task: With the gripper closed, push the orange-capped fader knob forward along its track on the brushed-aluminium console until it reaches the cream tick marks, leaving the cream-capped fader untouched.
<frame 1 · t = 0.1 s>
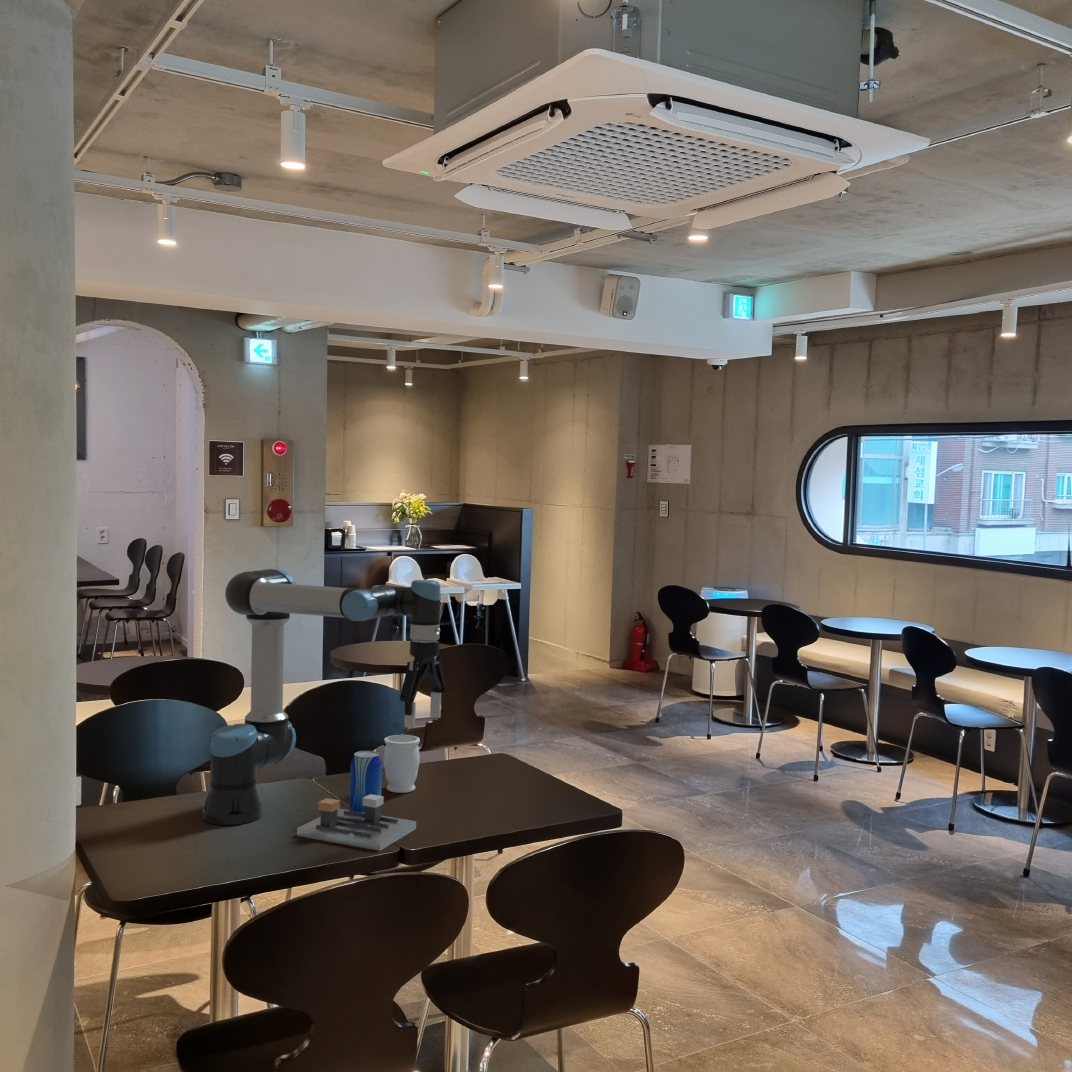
hand: (422, 722, 259), 28 cm above the table, fingers open, 13 cm apart
console: (357, 832, 257), on the table
beer can: (365, 812, 273), on the table
jar: (401, 789, 295), on the table
fader b: (372, 808, 259), point 5 cm above the table, slide at 8.0 cm
fader a: (329, 812, 255), point 5 cm above the table, slide at 0.0 cm
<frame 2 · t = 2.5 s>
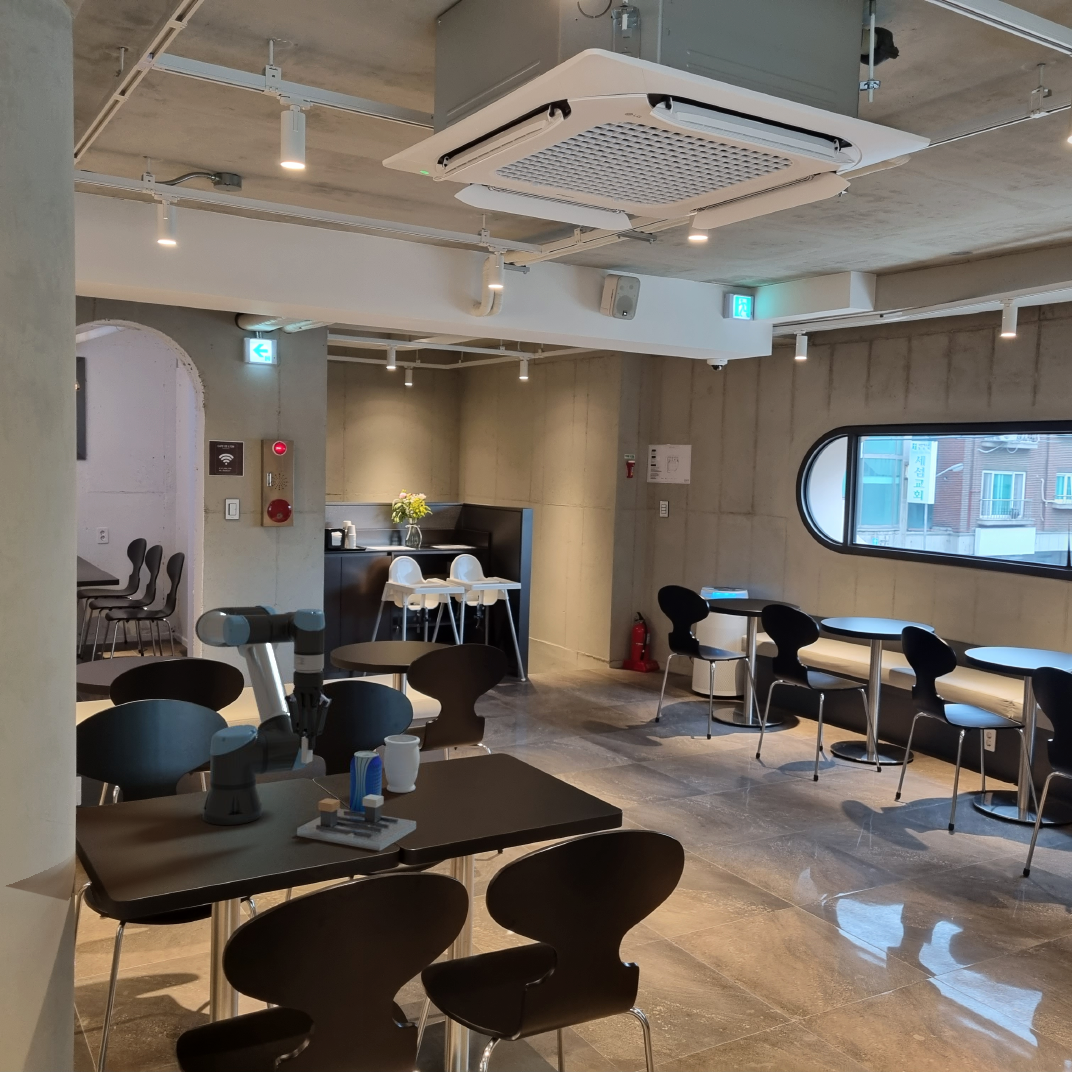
hand: (306, 761, 257), 18 cm above the table, fingers closed
nothing on the table moved.
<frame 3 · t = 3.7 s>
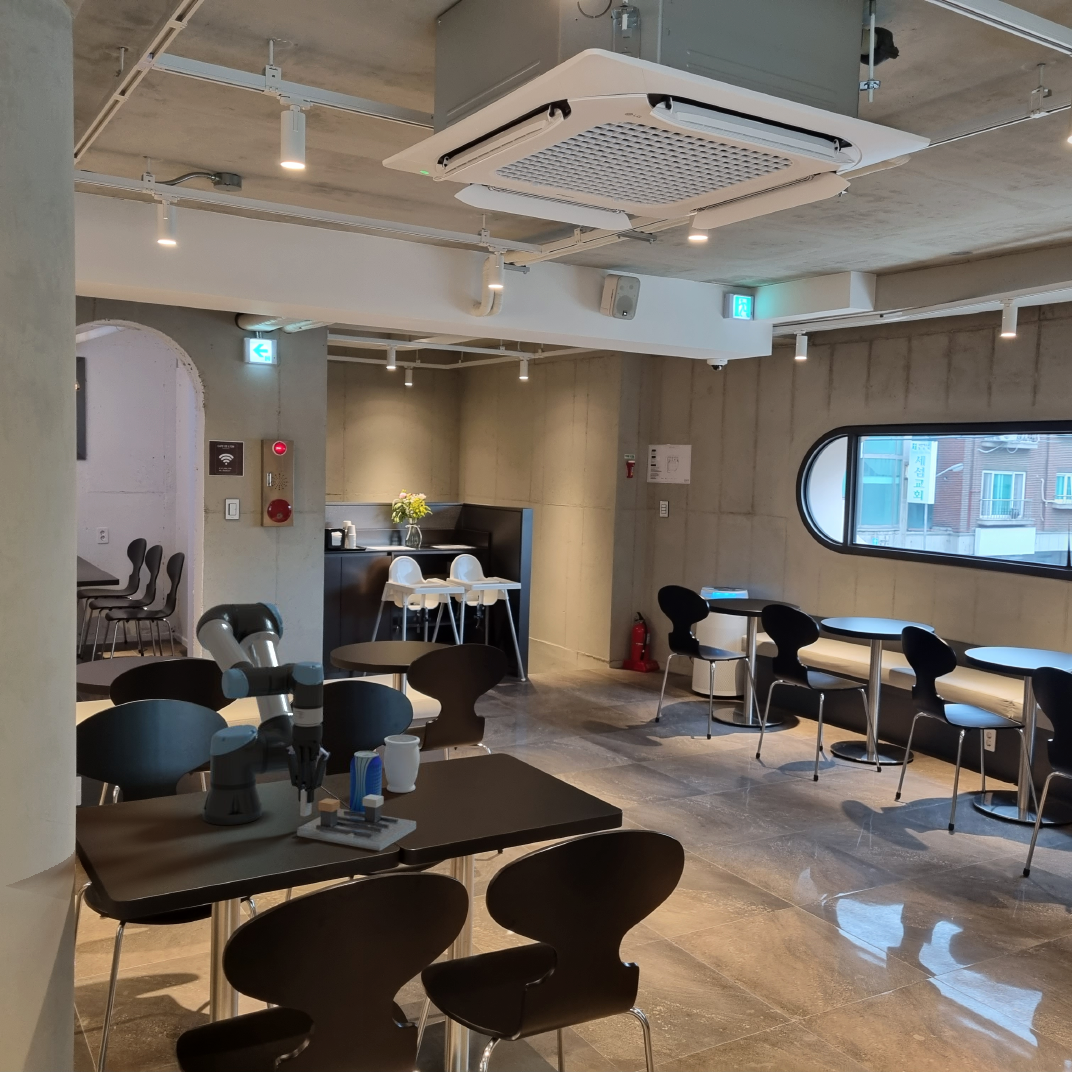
hand: (305, 814, 258), 4 cm above the table, fingers closed
nothing on the table moved.
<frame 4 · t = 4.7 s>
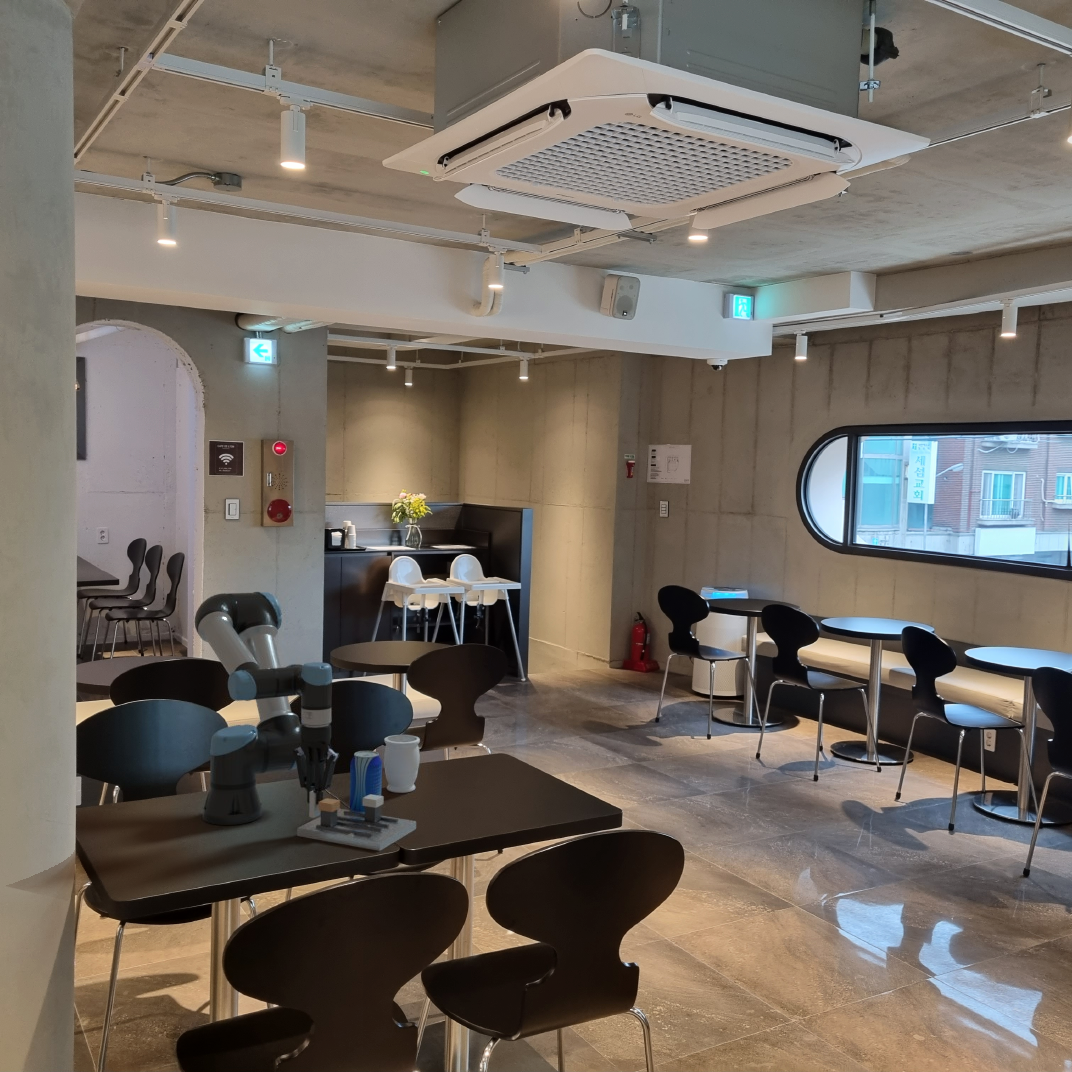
hand: (314, 816, 256), 4 cm above the table, fingers closed
fader a: (329, 812, 255), point 5 cm above the table, slide at 0.0 cm, touching gripper
everything else where it was.
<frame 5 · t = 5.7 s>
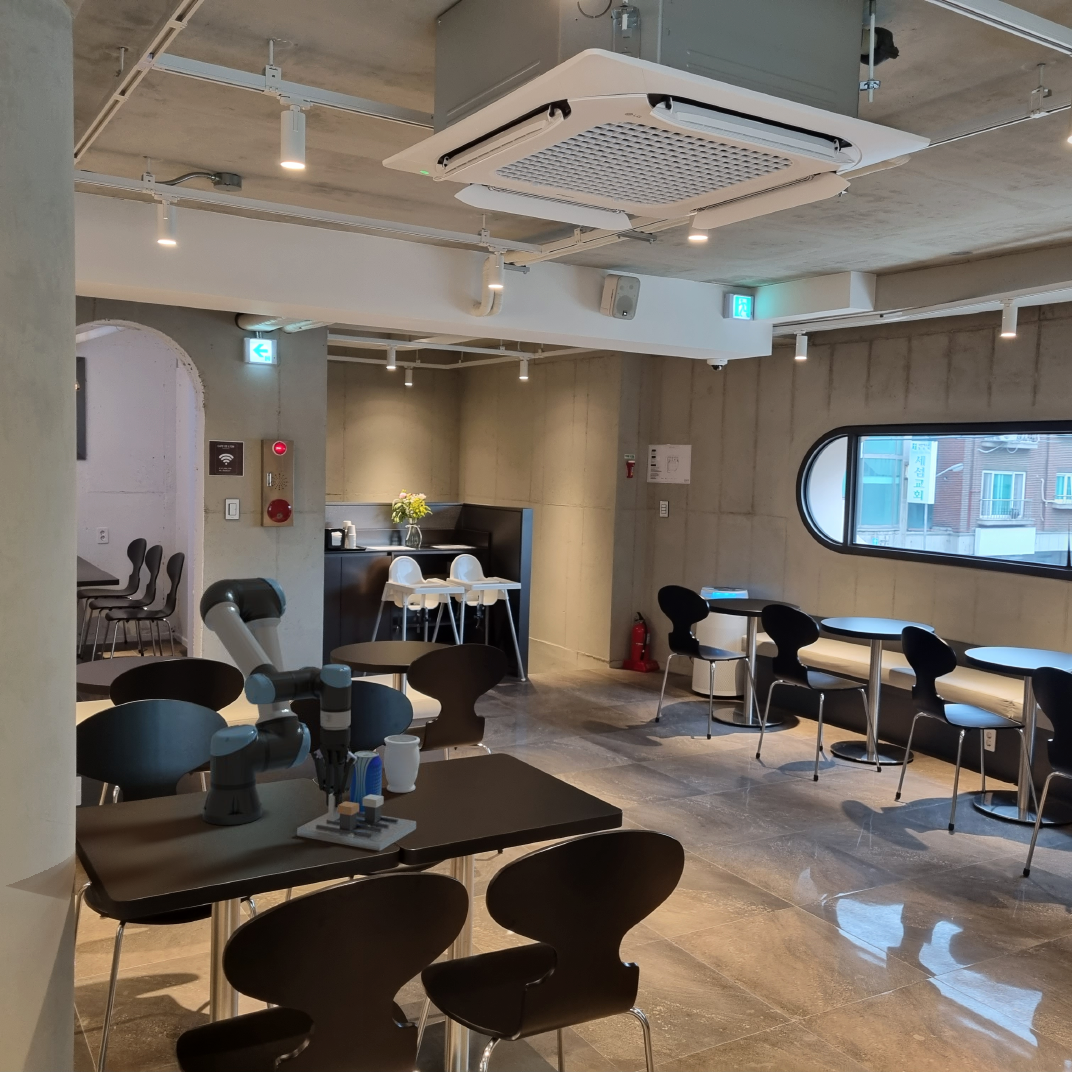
hand: (333, 819, 254), 4 cm above the table, fingers closed
fader a: (348, 816, 253), point 5 cm above the table, slide at 5.7 cm, touching gripper
everything else where it was.
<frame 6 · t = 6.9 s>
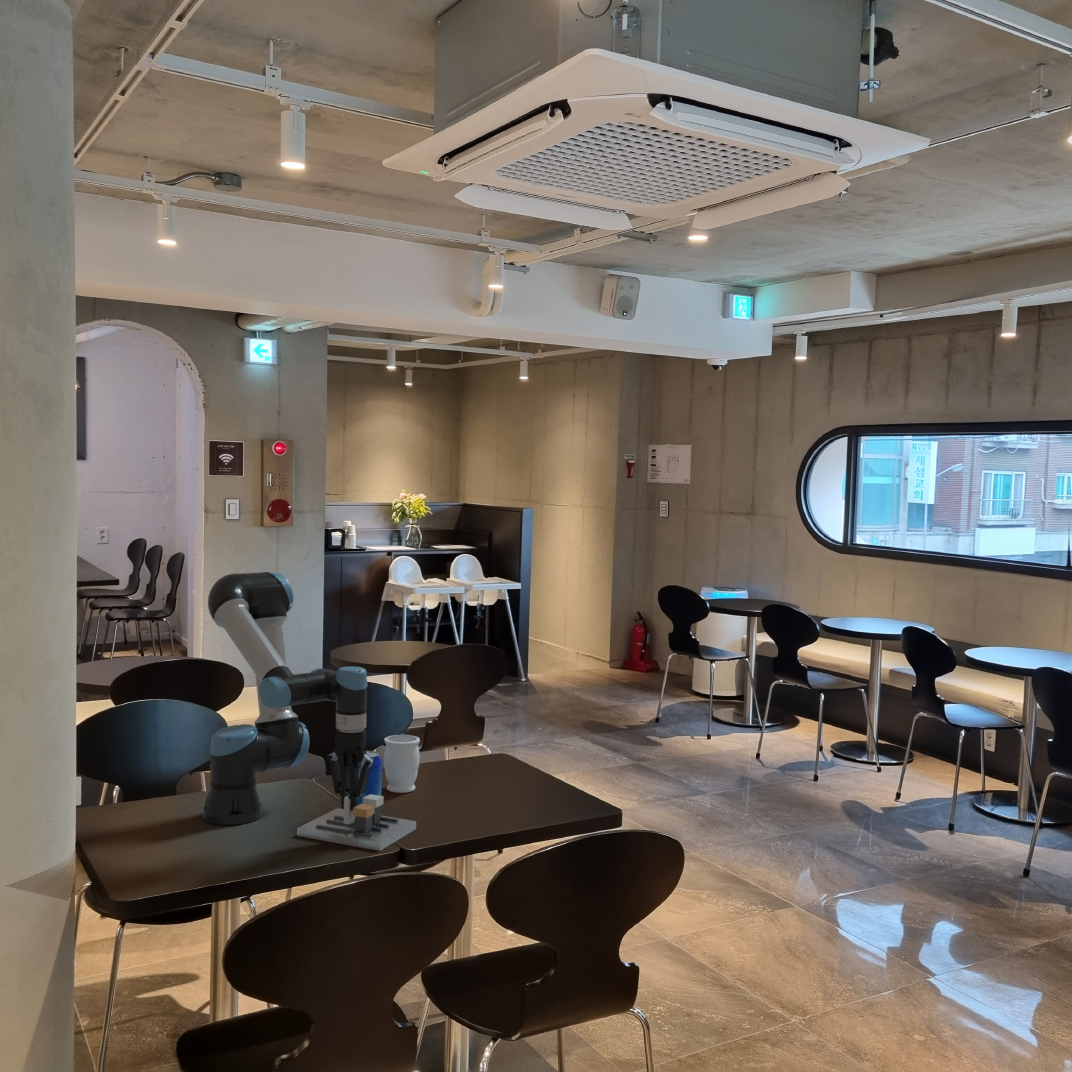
hand: (349, 822, 253), 4 cm above the table, fingers closed
fader a: (363, 818, 251), point 5 cm above the table, slide at 10.2 cm, touching gripper
everything else where it was.
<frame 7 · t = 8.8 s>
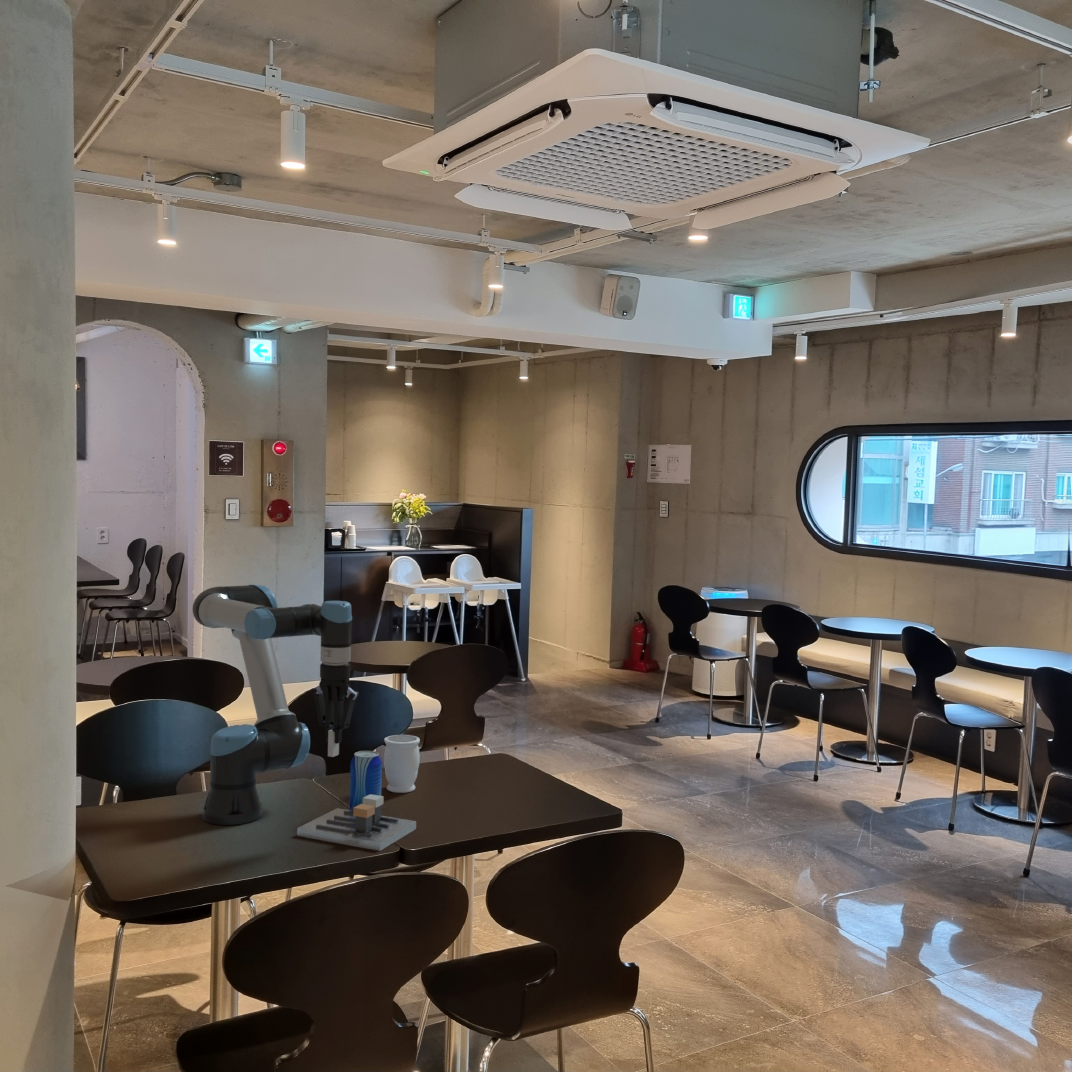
hand: (333, 755, 254), 20 cm above the table, fingers closed
fader a: (363, 818, 251), point 5 cm above the table, slide at 10.3 cm
everything else where it was.
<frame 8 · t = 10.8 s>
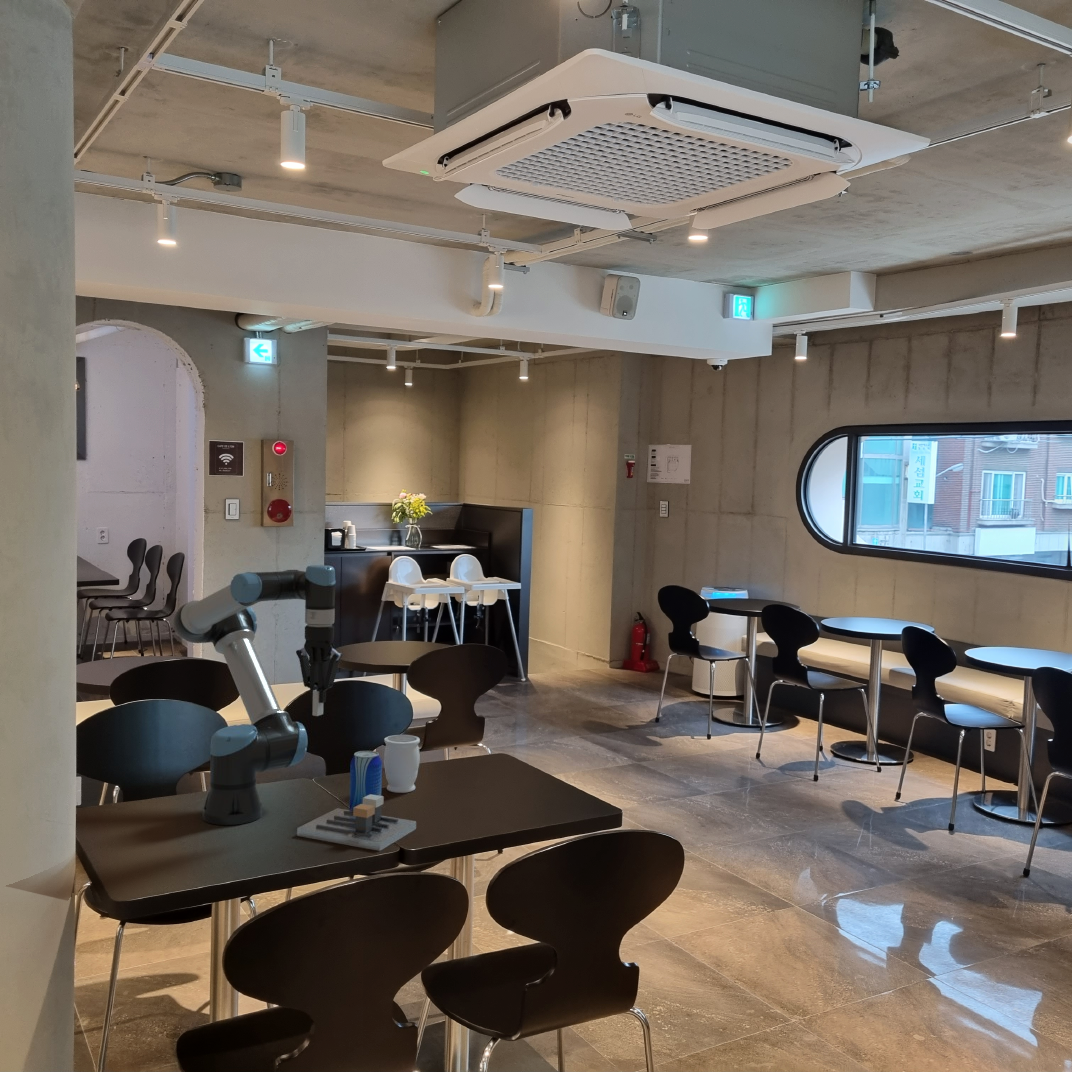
hand: (317, 714, 263), 28 cm above the table, fingers closed
nothing on the table moved.
at the end: fader a slide at 10.3 cm; fader b slide at 8.0 cm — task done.
